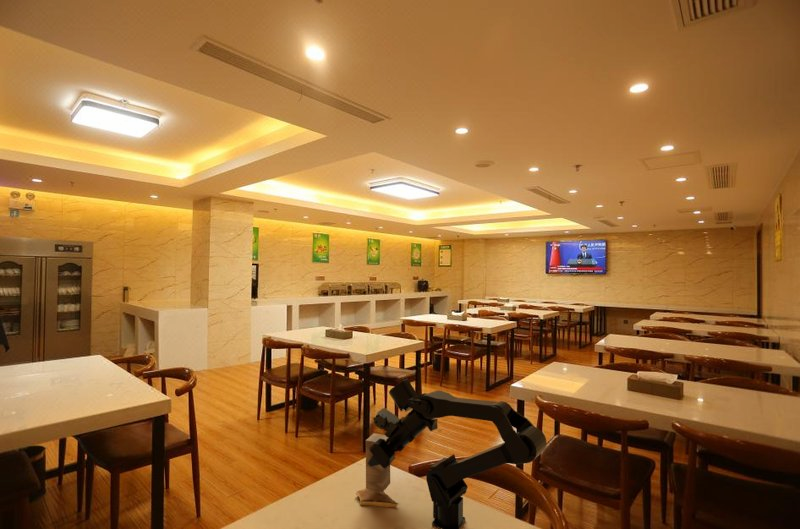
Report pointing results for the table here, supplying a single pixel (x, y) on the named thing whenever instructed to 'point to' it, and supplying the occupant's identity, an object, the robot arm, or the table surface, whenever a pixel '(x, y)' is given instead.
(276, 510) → the table surface
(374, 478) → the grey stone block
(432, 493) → the robot arm
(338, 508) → the table surface
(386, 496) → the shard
